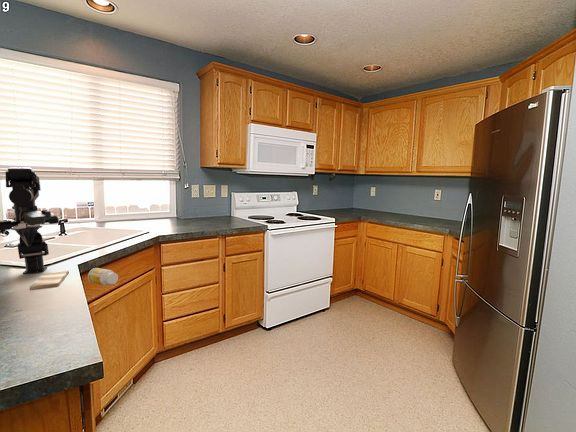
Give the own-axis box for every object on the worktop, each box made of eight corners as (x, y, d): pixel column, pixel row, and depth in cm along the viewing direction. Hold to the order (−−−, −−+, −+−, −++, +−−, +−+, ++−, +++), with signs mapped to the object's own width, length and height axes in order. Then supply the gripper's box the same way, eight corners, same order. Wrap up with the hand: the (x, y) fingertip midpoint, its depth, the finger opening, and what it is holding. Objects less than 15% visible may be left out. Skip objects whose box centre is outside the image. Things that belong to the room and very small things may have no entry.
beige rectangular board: (44, 275, 120) (43, 273, 119) (68, 272, 123) (68, 270, 123) (30, 289, 105) (29, 286, 105) (58, 285, 108) (58, 283, 108)
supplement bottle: (91, 265, 110) (110, 268, 106) (103, 270, 114) (122, 273, 111) (84, 280, 108) (103, 284, 104) (97, 284, 112) (116, 288, 109)
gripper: (3, 206, 99) (9, 254, 101) (65, 201, 115) (69, 242, 118) (-15, 205, 103) (-8, 251, 105) (48, 200, 120) (52, 240, 122)
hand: (29, 246), depth 112 cm, fingers closed
